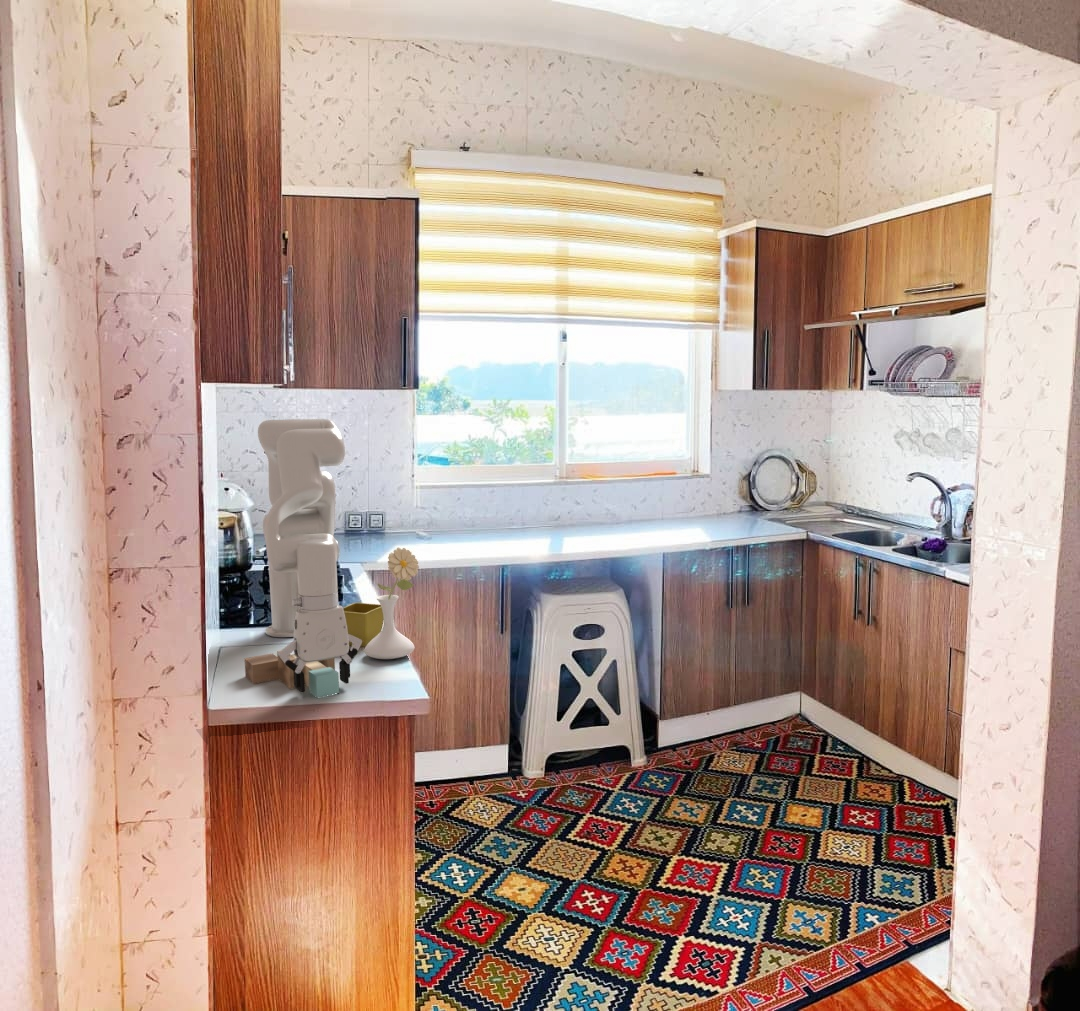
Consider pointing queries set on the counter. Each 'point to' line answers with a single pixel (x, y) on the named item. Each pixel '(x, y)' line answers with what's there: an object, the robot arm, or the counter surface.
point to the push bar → (310, 669)
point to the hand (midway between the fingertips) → (322, 685)
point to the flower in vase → (389, 638)
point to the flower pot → (364, 621)
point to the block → (323, 682)
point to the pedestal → (261, 668)
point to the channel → (287, 673)
